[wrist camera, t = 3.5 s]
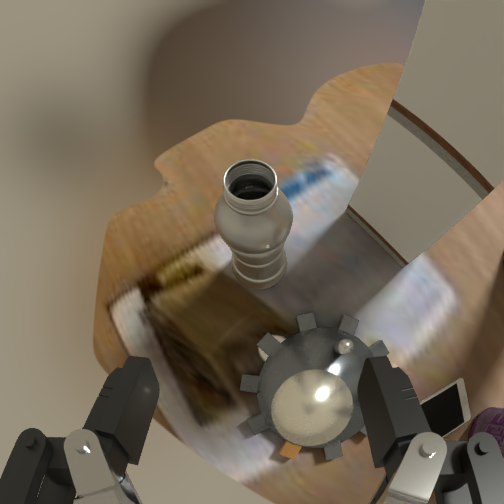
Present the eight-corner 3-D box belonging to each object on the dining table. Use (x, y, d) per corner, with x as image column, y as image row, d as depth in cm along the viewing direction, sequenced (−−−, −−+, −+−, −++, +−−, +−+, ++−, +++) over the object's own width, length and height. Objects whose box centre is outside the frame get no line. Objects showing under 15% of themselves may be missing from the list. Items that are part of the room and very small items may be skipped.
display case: (437, 222, 39) (574, 51, 6) (402, 268, 37) (587, 74, 4) (386, 173, 42) (471, -29, 10) (345, 211, 40) (434, -40, 8)
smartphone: (471, 418, 28) (385, 469, 27) (469, 418, 29) (384, 468, 28) (463, 375, 31) (374, 424, 30) (460, 375, 31) (372, 423, 31)
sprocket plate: (281, 291, 37) (283, 282, 33) (409, 343, 33) (425, 340, 29) (217, 424, 32) (210, 433, 27) (350, 473, 28) (360, 485, 24)
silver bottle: (275, 300, 37) (281, 237, 18) (225, 281, 38) (184, 204, 19) (293, 255, 39) (312, 158, 20) (245, 237, 40) (225, 134, 21)
